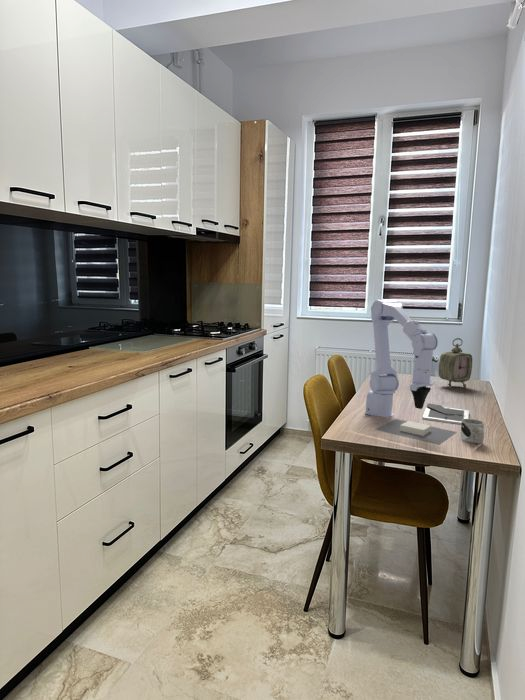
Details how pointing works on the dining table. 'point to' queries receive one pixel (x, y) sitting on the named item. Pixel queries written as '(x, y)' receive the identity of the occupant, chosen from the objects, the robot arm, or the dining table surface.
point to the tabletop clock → (455, 365)
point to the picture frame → (445, 414)
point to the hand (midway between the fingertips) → (418, 408)
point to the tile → (415, 428)
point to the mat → (433, 436)
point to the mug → (472, 431)
